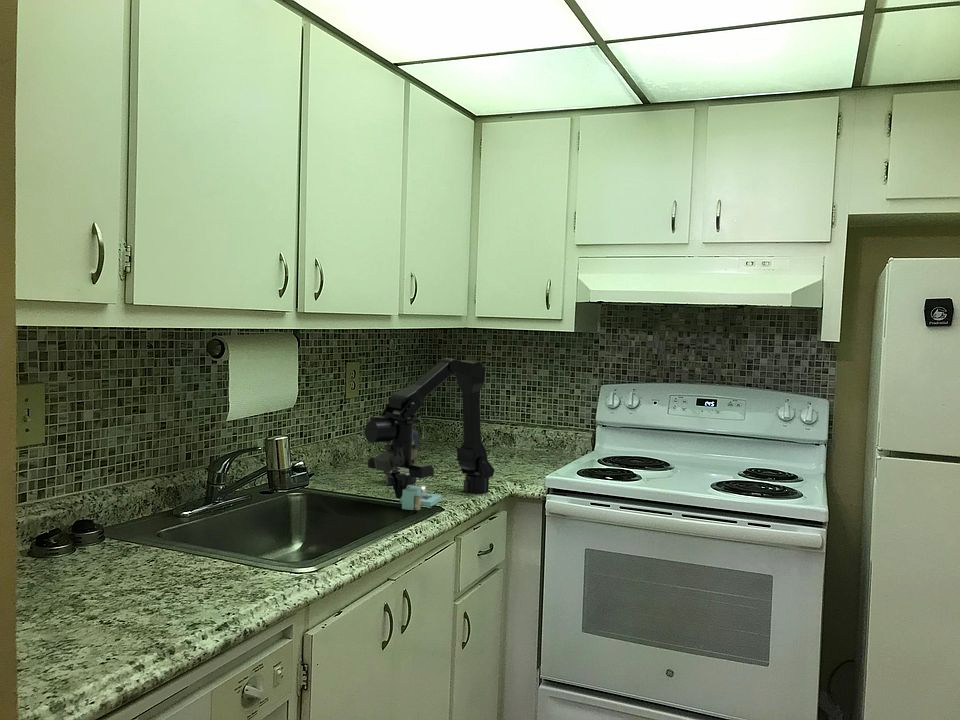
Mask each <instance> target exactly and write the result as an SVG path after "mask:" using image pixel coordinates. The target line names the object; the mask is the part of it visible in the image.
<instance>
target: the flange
mask: <svg viewBox="0 0 960 720" xmlns="http://www.w3.org/2000/svg"><path fill="white" fill-rule="evenodd" d="M416 486H417V485H415V486H414V485H408V486H407V488H406V489H404V490H403V493H402V497H401V498H400V499H399V504H401V509H402V510H409V511H413V510H414V511H415V509H414V508H415V496H421V487H416ZM442 500H443V495H442V494H435V493H427V500H423V499H421V507H422V506H423V507H429V508H430V507H433V506H435V504H438V503H439V502H441V501H442Z"/></svg>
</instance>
